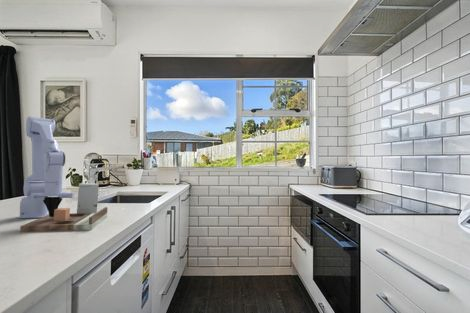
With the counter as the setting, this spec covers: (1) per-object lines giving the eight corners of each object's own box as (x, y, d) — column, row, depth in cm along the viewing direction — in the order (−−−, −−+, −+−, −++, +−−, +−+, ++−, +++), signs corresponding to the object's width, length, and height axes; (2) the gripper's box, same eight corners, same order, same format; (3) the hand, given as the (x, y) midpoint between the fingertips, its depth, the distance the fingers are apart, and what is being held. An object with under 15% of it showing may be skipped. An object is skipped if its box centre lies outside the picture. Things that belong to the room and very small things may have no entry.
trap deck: (20, 232, 93) (20, 219, 93) (49, 218, 114) (50, 208, 114) (91, 229, 98) (92, 217, 98) (107, 217, 119) (107, 207, 119)
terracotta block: (53, 220, 103) (54, 209, 103) (58, 217, 107) (58, 207, 107) (65, 219, 104) (65, 209, 104) (69, 217, 108) (69, 207, 108)
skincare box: (76, 217, 117) (77, 184, 118) (77, 215, 123) (78, 183, 123) (97, 216, 121) (98, 183, 122) (97, 213, 127) (98, 182, 127)
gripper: (27, 182, 100) (25, 219, 99) (69, 183, 103) (68, 218, 102) (36, 181, 106) (35, 215, 106) (76, 181, 109) (75, 214, 109)
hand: (52, 216), depth 105 cm, fingers closed
